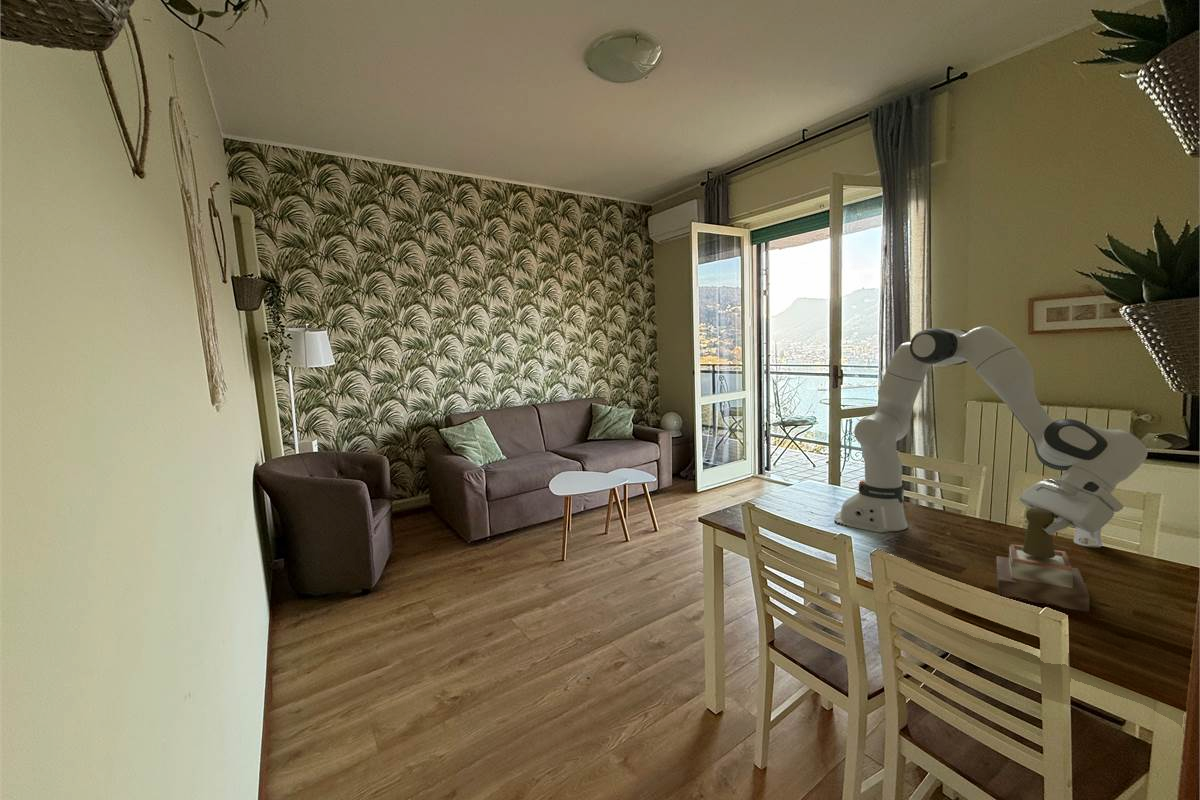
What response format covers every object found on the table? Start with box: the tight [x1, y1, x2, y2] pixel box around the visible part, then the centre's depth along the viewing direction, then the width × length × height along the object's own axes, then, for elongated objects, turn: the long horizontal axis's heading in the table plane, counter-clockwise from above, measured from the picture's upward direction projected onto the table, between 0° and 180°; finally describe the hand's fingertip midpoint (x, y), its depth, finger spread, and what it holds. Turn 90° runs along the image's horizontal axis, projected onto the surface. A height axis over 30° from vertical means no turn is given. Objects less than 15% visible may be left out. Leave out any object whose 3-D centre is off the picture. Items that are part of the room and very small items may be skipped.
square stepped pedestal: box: [995, 543, 1090, 613], centre depth 124 cm, size 16×16×9 cm
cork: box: [1022, 508, 1055, 558], centre depth 123 cm, size 6×6×11 cm
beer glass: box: [1073, 527, 1103, 549], centre depth 147 cm, size 7×7×15 cm
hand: (1036, 528), depth 123 cm, fingers closed on cork, 4 cm apart
